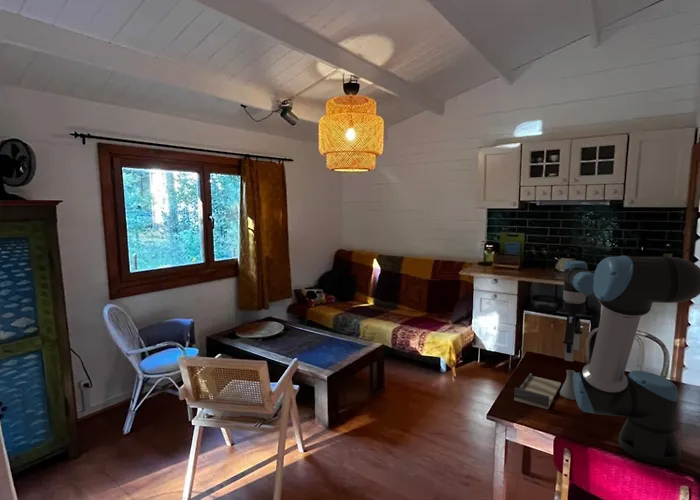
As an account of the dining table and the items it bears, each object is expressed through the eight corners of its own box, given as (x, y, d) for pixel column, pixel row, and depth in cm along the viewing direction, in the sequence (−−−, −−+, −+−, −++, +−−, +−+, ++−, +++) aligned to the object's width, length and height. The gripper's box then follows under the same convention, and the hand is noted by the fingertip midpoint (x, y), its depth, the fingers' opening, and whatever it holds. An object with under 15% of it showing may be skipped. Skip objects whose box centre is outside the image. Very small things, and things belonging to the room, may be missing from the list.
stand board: (548, 409, 144) (548, 397, 143) (514, 400, 151) (514, 388, 151) (560, 385, 163) (561, 374, 162) (530, 378, 170) (530, 367, 170)
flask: (575, 392, 157) (576, 368, 156) (584, 400, 150) (585, 375, 149) (556, 391, 158) (557, 367, 156) (564, 400, 150) (565, 375, 149)
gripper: (580, 310, 137) (577, 368, 140) (590, 296, 157) (588, 347, 159) (556, 306, 142) (554, 363, 145) (569, 293, 162) (567, 343, 164)
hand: (572, 355), depth 152 cm, fingers open, 13 cm apart
